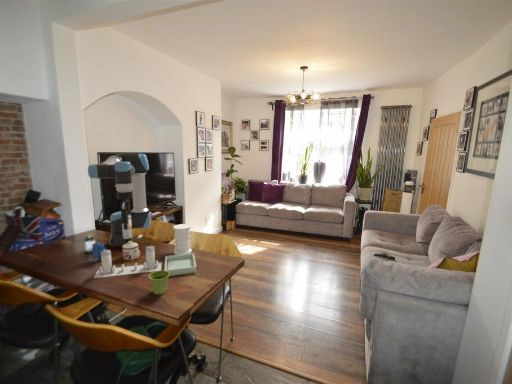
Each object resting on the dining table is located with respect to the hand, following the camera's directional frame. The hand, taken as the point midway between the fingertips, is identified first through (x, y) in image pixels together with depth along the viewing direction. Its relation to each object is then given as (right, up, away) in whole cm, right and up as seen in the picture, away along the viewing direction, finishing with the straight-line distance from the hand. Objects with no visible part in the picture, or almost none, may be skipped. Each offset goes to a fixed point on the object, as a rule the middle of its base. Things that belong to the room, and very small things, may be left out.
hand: (127, 233), depth 139 cm
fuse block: (0, -22, +4) cm, 23 cm away
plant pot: (+23, -26, -15) cm, 38 cm away
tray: (+25, -21, +12) cm, 35 cm away
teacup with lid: (-7, -20, +20) cm, 29 cm away
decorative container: (+21, -18, +33) cm, 43 cm away
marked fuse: (0, -2, 0) cm, 2 cm away
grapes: (-26, -20, +16) cm, 36 cm away
